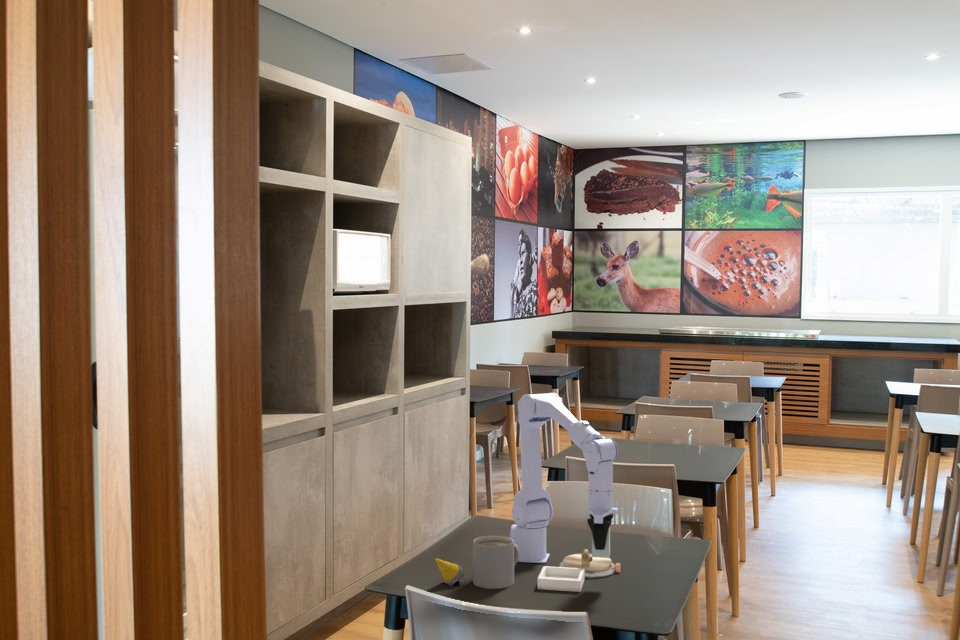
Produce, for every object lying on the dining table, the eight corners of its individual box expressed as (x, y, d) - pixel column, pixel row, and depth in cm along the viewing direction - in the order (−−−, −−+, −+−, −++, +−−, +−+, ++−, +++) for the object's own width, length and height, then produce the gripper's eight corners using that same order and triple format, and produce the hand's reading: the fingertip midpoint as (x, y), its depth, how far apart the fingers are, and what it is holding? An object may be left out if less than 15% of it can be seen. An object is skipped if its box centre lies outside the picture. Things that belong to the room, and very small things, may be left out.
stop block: (591, 557, 206) (591, 527, 206) (593, 552, 210) (593, 523, 210) (608, 558, 205) (608, 528, 205) (610, 553, 209) (610, 524, 209)
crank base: (556, 576, 215) (556, 568, 215) (563, 560, 229) (563, 553, 229) (618, 579, 212) (618, 572, 212) (621, 563, 226) (621, 556, 226)
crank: (566, 556, 228) (566, 537, 228) (613, 559, 225) (613, 540, 225) (560, 571, 215) (560, 551, 215) (609, 574, 213) (609, 553, 212)
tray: (537, 589, 205) (537, 578, 205) (543, 576, 215) (543, 566, 215) (580, 591, 203) (580, 581, 203) (584, 578, 213) (584, 568, 213)
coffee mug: (488, 591, 204) (488, 548, 204) (465, 580, 212) (464, 539, 212) (533, 581, 211) (533, 540, 211) (509, 571, 219) (509, 531, 219)
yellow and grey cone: (467, 588, 208) (441, 564, 204) (450, 594, 210) (424, 570, 206) (471, 569, 212) (445, 545, 208) (454, 575, 215) (428, 552, 211)
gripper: (615, 496, 199) (615, 556, 199) (619, 484, 213) (619, 539, 214) (584, 495, 201) (584, 554, 201) (590, 482, 215) (590, 538, 215)
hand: (600, 546), depth 207 cm, fingers closed on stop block, 4 cm apart
